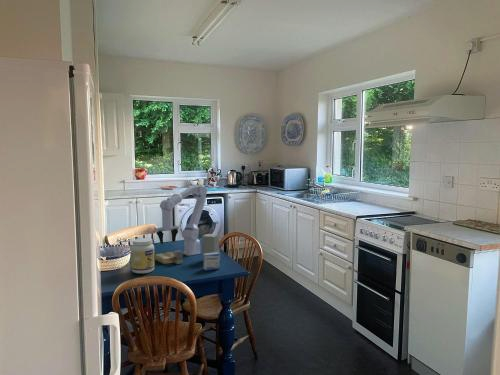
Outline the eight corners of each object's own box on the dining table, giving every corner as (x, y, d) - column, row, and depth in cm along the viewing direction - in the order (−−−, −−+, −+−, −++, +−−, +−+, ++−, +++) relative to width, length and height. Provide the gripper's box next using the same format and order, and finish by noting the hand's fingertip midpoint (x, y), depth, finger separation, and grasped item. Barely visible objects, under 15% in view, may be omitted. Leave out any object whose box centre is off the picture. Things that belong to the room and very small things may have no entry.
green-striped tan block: (173, 256, 234) (173, 251, 234) (182, 260, 225) (182, 255, 224) (155, 259, 227) (154, 254, 226) (163, 264, 217) (163, 259, 217)
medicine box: (205, 270, 205) (205, 255, 205) (203, 268, 209) (203, 253, 209) (219, 269, 209) (219, 253, 208) (216, 266, 213) (216, 251, 212)
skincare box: (220, 260, 226) (220, 234, 224) (214, 263, 219) (214, 236, 218) (208, 258, 229) (207, 232, 228) (201, 261, 223) (201, 235, 221)
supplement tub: (148, 274, 198) (148, 243, 197) (127, 273, 201) (126, 242, 199) (158, 267, 210) (157, 237, 209) (138, 266, 213) (137, 237, 211)
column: (179, 261, 223) (179, 249, 222) (183, 263, 220) (182, 251, 219) (173, 262, 220) (173, 250, 220) (176, 264, 217) (176, 252, 217)
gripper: (174, 217, 232) (175, 239, 233) (152, 220, 223) (153, 243, 224) (180, 219, 227) (180, 241, 228) (158, 222, 218) (158, 245, 219)
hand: (167, 242), depth 226 cm, fingers open, 7 cm apart
